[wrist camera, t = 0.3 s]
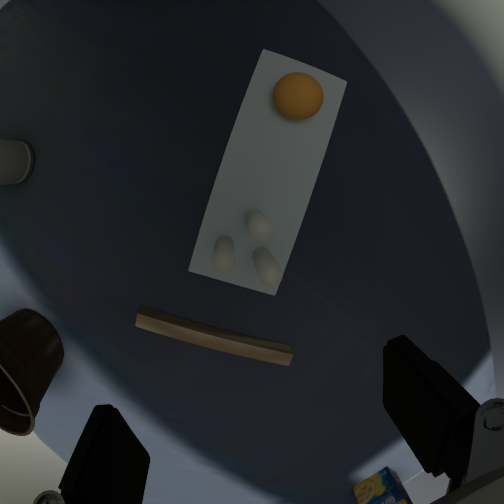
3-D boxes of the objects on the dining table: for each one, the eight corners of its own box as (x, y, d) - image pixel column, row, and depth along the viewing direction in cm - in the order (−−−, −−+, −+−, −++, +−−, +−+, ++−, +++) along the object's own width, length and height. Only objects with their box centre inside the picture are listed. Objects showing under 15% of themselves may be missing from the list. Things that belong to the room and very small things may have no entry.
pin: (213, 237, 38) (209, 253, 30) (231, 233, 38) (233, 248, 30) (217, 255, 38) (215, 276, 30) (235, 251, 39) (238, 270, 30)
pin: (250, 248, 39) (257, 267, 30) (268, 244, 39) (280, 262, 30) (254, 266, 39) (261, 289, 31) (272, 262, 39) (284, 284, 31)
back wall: (142, 305, 39) (137, 313, 37) (290, 345, 43) (293, 354, 40) (139, 318, 40) (135, 326, 37) (285, 356, 43) (288, 365, 41)
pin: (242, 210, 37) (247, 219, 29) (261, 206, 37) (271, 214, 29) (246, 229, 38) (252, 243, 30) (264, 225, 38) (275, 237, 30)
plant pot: (39, 280, 37) (-25, 324, 21) (92, 366, 41) (54, 432, 25) (-8, 314, 37) (-60, 354, 22) (39, 385, 41) (1, 438, 26)
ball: (265, 83, 34) (272, 67, 28) (309, 78, 34) (323, 63, 28) (275, 126, 35) (284, 117, 29) (320, 120, 35) (335, 111, 30)
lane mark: (262, 49, 32) (263, 49, 32) (346, 82, 34) (347, 81, 34) (188, 270, 39) (188, 270, 38) (274, 295, 40) (275, 295, 40)
